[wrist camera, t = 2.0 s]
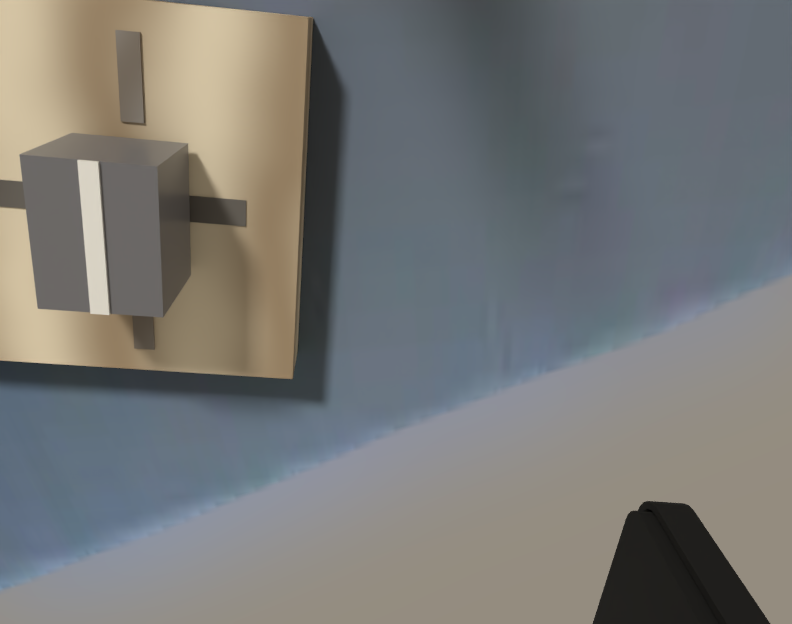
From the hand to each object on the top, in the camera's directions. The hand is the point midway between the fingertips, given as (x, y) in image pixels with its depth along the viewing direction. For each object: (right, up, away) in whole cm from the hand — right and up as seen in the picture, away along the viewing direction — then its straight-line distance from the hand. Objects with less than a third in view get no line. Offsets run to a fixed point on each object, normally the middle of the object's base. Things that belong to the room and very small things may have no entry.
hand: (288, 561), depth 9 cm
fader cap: (-8, +7, +16) cm, 19 cm away
